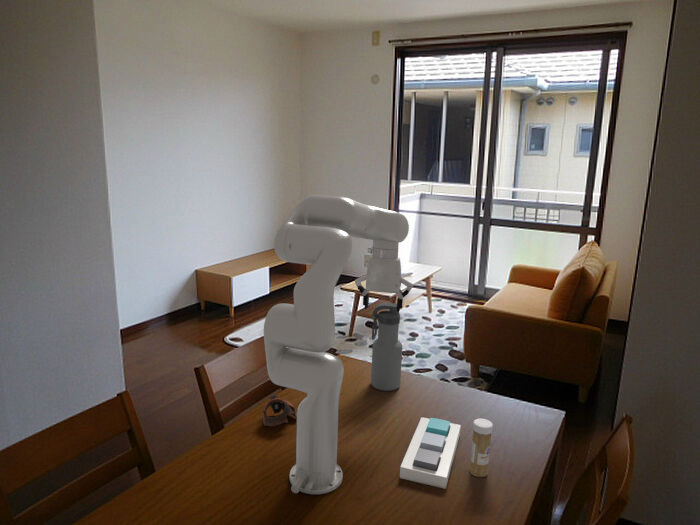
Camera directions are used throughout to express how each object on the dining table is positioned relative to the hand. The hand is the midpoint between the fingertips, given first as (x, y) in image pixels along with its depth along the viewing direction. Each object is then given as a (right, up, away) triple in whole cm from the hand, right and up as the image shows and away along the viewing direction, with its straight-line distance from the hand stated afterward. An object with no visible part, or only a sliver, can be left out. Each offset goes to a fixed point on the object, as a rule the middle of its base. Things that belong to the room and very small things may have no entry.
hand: (382, 309), depth 155 cm
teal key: (+14, -32, -14) cm, 38 cm away
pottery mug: (-30, -32, -7) cm, 44 cm away
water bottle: (+2, -27, +17) cm, 32 cm away
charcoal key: (+9, -35, -29) cm, 47 cm away
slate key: (+12, -34, -22) cm, 42 cm away
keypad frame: (+11, -36, -21) cm, 43 cm away
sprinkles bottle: (+22, -38, -28) cm, 52 cm away
